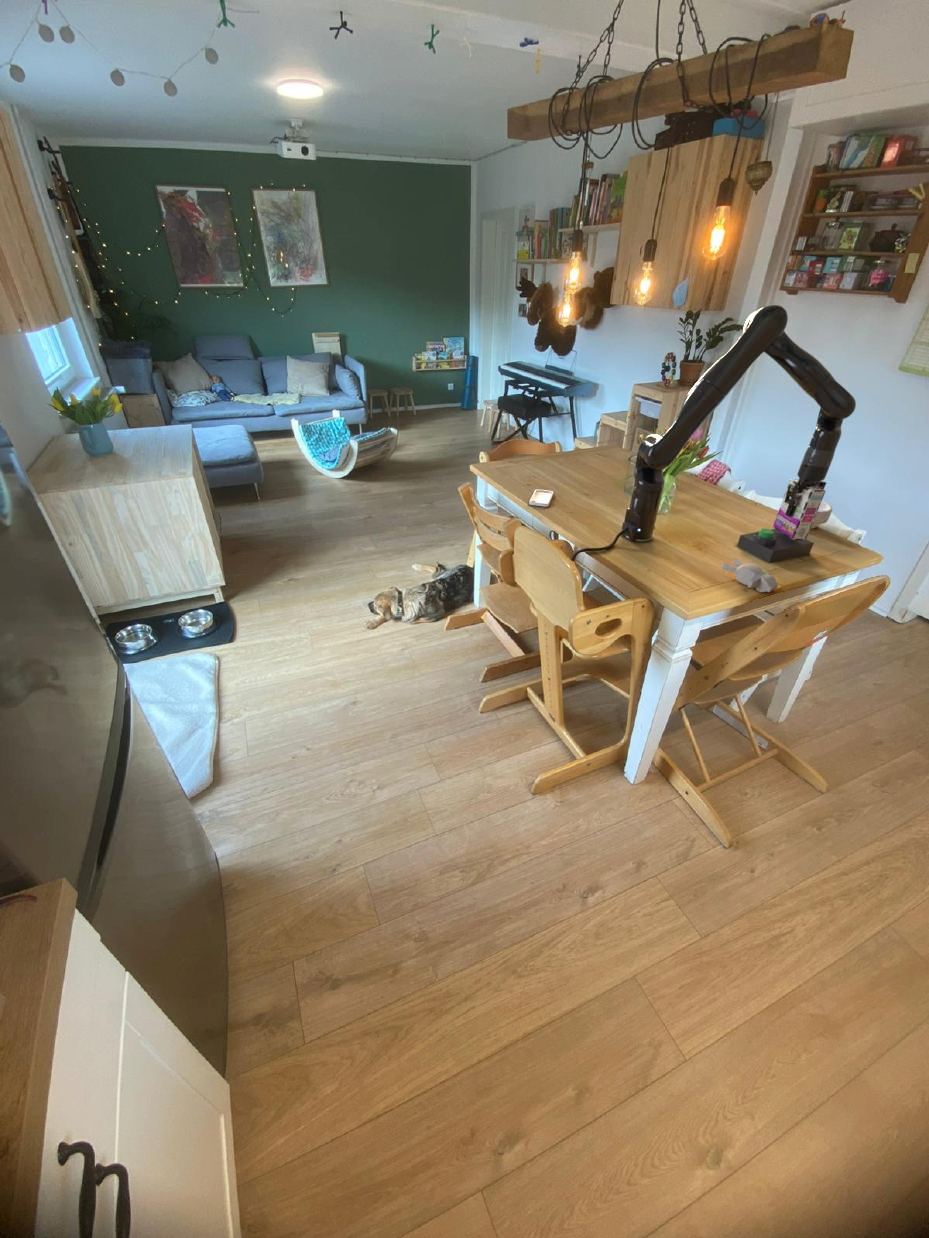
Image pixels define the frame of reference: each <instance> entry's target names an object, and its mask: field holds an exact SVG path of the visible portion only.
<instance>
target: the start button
mask: <svg viewBox="0 0 929 1238" xmlns="http://www.w3.org/2000/svg"><path fill="white" fill-rule="evenodd" d="M759 531H760V532H759V534H758V536H759V537H762V538H766V539H772V536H773V534H774V531H772V530H771V529H769V528H760V529H759Z"/></svg>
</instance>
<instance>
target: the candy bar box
mask: <svg viewBox="0 0 929 1238" xmlns="http://www.w3.org/2000/svg"><path fill="white" fill-rule="evenodd" d="M798 480H799V479H789V482H788V484H787V487H786V490H785V494H784V495H783V499H782V501H781V504H780V507H779V509H778V511H777V514H776V517H775V520H774V522H773V525H772V528H773V529H777V530H778V531H780V532H781V533H783V534H784V535H786V536H787V537H788V538H790V539H791V540H807V538H808V535H809V532H810V530H811V529H812V528H811V525H812V523H813V521H814V518H815V516H816V513H817V511H818V509H819V506H820V504H821V501H823V499H824V496H825V494H826V492H827V490H825V489H821V488H819V487H817V486H811V487H804V489H803V491H802V492H801V493H797V494H796V495H798V496H800V495H801V494H802V498H801V499H800V500H799V502H798V504H797V505H796V506H797V507H796V510H795V512H794V515H793V516H792V517H789V516H787V515H786V511H787V508H788V505H789V504H788V503H786V502H785V498H786V494H787V490H788V486H789V485H790V484H792V485H795V484H796V483H797V482H798ZM790 498H791V497H790ZM790 498H789V499H790ZM796 499H797V498H795V501H796ZM810 528H811V529H810Z"/></svg>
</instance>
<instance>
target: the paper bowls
mask: <svg viewBox="0 0 929 1238" xmlns="http://www.w3.org/2000/svg"><path fill="white" fill-rule="evenodd" d="M833 509H834V508H833V506H832V505H831V504H830V503H828V502H826V501H824V500H822V501H821V504H820V506H819V509H818V511H817V513H816V516H815V518H814V521H813V523H812V525H811V528H810V530H811V529H815V528H817V527H818V526H820V525H822V524H827V523H828V521H829V519H830V517H831V514H832V512H833Z"/></svg>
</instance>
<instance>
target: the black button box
mask: <svg viewBox="0 0 929 1238" xmlns="http://www.w3.org/2000/svg"><path fill="white" fill-rule="evenodd" d="M770 530H772V531H774V534H773V536H772V539H766V538H762V537H759V536H758V534H759V532H760V530H758V531H754V532H750V533H749V532H748V533H743V534H740V535H739V538H738V542H737V545H736V547H738V548H740V549H742V550H744V551H746V552H748V553H749V554H751V555H753V556H755V557H757V558H760V559H761V560H763V561H765V562H767V563H773V562H778V561H784V560H787V559H793V558H797V557H802V556H807V555H810V553H811V551H812V548H813V546H814V544H815V543H814V542H813V541H810V540H809V539H806V540H791V539H790V538H788V537H787V536H786V535H784V534H783V533H781V532H780V531H778V530H777V529H775V528H772V529H770Z"/></svg>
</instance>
